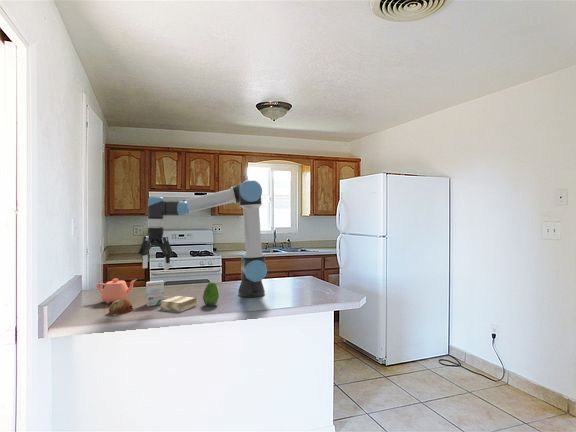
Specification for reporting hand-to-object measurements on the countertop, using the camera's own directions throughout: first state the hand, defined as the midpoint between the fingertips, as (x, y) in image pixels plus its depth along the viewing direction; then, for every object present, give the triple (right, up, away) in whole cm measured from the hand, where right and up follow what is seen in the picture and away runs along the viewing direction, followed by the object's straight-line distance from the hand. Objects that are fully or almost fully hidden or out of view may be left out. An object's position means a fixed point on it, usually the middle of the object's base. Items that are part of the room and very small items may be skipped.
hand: (155, 268), depth 196 cm
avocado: (+29, -19, -2) cm, 34 cm away
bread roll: (-12, -19, -13) cm, 26 cm away
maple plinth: (+14, -18, -6) cm, 24 cm away
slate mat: (+11, -19, -5) cm, 22 cm away
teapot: (-23, -19, +7) cm, 30 cm away
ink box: (0, -18, 0) cm, 18 cm away
